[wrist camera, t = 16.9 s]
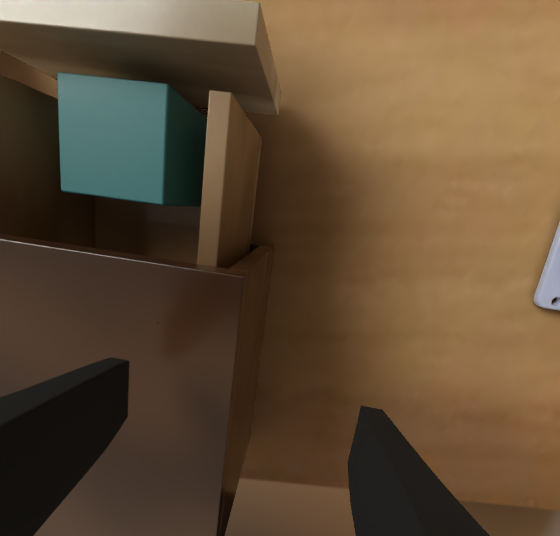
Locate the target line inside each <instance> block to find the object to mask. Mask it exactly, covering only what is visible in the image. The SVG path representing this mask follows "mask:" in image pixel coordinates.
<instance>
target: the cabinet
mask: <svg viewBox="0 0 560 536" xmlns="http://www.w3.org/2000/svg"><path fill="white" fill-rule="evenodd" d="M273 253H274V246H273V245H268V244H261V243H254V242H251V244H250V253H249V254H248V255H246V256H245V257H244V258H242V259H241V260H240V261H238V262H237V263H235V264H234V265H233V266H231V267H230V268H229V269H227V268H220V267H214V266H207V265H201V264H194V263H188V262H181V261H174V260H168V259H161V258H155V257H148V256H142V255H135V254H129V253H122V252H116V251H109V250H103V249H96V248H90V247H83V246H77V245H70V244H64V243H57V242H51V241H44V240H38V239H31V238H24V237H18V236H11V235H5V234H0V397H2V396H5V395H8V394H11V393H14V392H17V391H19V390H22V389H25V388H28V387H30V386H33V385H36V384H38V383H41V382H44V381H46V380H49V379H52V378H54V377H57V376H59V375H62V374H65V373H67V372H70V371H73V370H75V369H78V368H81V367H83V366H86V365H89V364H92V363H94V362H97V361H100V360H103V359H107V358H110V357H113V358H118V359H123V360H129V393H128V417H127V419H126V420H125V422H124V423H123V425H122V427H121V428H120V430H119V431H118V433H117V434H116V436H115V437H114V439H113V440H112V441H111V443H110V444H109V446H108V447H107V449H106V450H105V451H104V453H103V454H102V455H101V456H100V457H99V459H98V460H97V461H96V462H95V463H94V465H93V466H92V467H91V468H90V469H89V471H88V472H87V473H86V474H85V475H84V477H83V478H82V479H81V480H80V481H79V483H78V484H77V485H76V486H75V487H74V488H73V490H72V491H71V492H70V493H69V494H68V495H67V497H66V498H65V499H64V500H63V501H62V503H61V504H60V505H59V506H58V507H57V508H56V510H55V511H54V512H53V513H52V514H51V516H50V517H49V518H48V519H47V520H46V521H45V523H44V524H43V525H42V526H41V527H40V528H39V530H38V531H37V532H36V533H35V534H34V536H224V535H225V531H226V527H227V524H228V520H229V516H230V512H231V508H232V505H233V501H234V497H235V493H236V489H237V485H238V481H239V478H240V474H241V470H242V466H243V462H244V458H245V455H246V451H247V446H248V443H249V439H250V432H251V424H252V416H253V408H254V401H255V393H256V385H257V377H258V369H259V362H260V354H261V346H262V338H263V331H264V323H265V315H266V307H267V299H268V292H269V284H270V276H271V268H272V261H273Z"/></svg>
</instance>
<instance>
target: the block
mask: <svg viewBox="0 0 560 536" xmlns="http://www.w3.org/2000/svg"><path fill="white" fill-rule="evenodd" d="M57 85H58V114H59V144H60V173H61V190H62V191H63V192H68V193H75V194H83V195H90V196H97V197H104V198H111V199H119V200H126V201H133V202H140V203H147V204H155V205H162V206H196V207H201V202H202V188H203V174H204V159H205V145H206V131H207V118H206V117H205V116H203V115H202V114H201V113H200V112H199V111H198V110H197V109H196V108H194V107H193V106H192V105H191V104H190V103H189V102H188V101H187V100H185V99H184V98H183V97H182V96H181V95H180V94H179V93H178V92H176V91H175V90H174V89H173V88H172V87H171V86H170V85H169V84H165V83H156V82H147V81H137V80H128V79H119V78H109V77H100V76H90V75H81V74H72V73H62V72H58V73H57Z"/></svg>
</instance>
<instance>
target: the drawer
mask: <svg viewBox="0 0 560 536" xmlns="http://www.w3.org/2000/svg"><path fill="white" fill-rule="evenodd" d="M0 51H2V52H4V53H6V54H8V55H10V56H12V57H14V58H16V59H18V60H20V61H22V62H24V63H26V64H27V65H29V66H31V67H33V68H35V69H37V70H39V71H41V72H43V73H45V74H47V75H49V76H51V77H53V78H55V79H57V73H58V72H62V73H72V74H81V75H90V76H100V77H109V78H119V79H128V80H137V81H147V82H156V83H165V84H169V85H170V86H171V87H172V88H173V89H174V90H175V91H176V92H178V93H179V94H180V95H181V96H182V97H183V98H184V99H185V100H187V101H188V102H189V103H190V104H191V105H192V106H197V107H206V108H208V117H207V131H206V145H205V159H204V174H203V188H202V202H201V207H196V206H162V205H155V204H147V203H140V202H133V201H126V200H119V199H111V198H104V197H97V196H90V195H83V194H75V193H68V192H63V191H62V190H61V173H60V144H59V114H58V99H56V98H54V97H52V96H49V95H47V94H45V93H42V92H40V91H38V90H36V89H33V88H31V87H29V86H27V85H24V84H22V83H20V82H17V81H15V80H13V79H11V78H8V77H6V76H4V75H2V74H0V234H5V235H11V236H18V237H24V238H31V239H38V240H44V241H51V242H57V243H64V244H70V245H77V246H83V247H90V248H96V249H103V250H109V251H116V252H122V253H129V254H135V255H142V256H148V257H155V258H161V259H168V260H174V261H181V262H188V263H194V264H201V265H207V266H214V267H220V268H227V269H229V268H230V267H231V266H233V265H234V264H235V263H237V262H238V261H240V260H241V259H242V258H244V257H245V256H246V255H248V254H249V253H250V244H251V235H252V226H253V217H254V208H255V199H256V190H257V181H258V172H259V162H260V153H261V144H262V138H261V137H260V135H259V133H258V132H257V130H256V129H255V127H254V126H253V124H252V123H251V121H250V120H249V118H248V117H247V115H246V114H245V112H251V113H260V114H269V115H279V107H280V99H281V90H280V85H279V81H278V77H277V73H276V69H275V64H274V60H273V56H272V52H271V48H270V43H269V39H268V35H267V31H266V27H265V23H264V18H263V14H262V10H261V6H260V3H259V2H249V1H237V0H0Z"/></svg>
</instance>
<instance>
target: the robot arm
mask: <svg viewBox="0 0 560 536" xmlns="http://www.w3.org/2000/svg"><path fill="white" fill-rule="evenodd" d="M554 298H556V301H555V302H554V303H552V300H553V299H554ZM534 303H535V304H536V305H537V306H540V307H542V308H547V309H553V310H560V222H559V225H558V228H557V231H556V234H555V236H554V239H553V242H552V245H551V248H550V251H549V254H548V257H547V260H546V263H545V266H544V269H543V272H542V275H541V277H540V280H539V283H538V286H537V289H536V292H535V295H534ZM128 393H129V360H123V359H118V358H113V357H110V358H107V359H103V360H100V361H97V362H94V363H92V364H89V365H86V366H83V367H81V368H78V369H75V370H73V371H70V372H67V373H65V374H62V375H59V376H57V377H54V378H52V379H49V380H46V381H44V382H41V383H38V384H36V385H33V386H30V387H28V388H25V389H22V390H19V391H17V392H14V393H11V394H8V395H5V396H2V397H0V536H34V534H35V533H36V532H37V531H38V530H39V528H40V527H41V526H42V525H43V524H44V523H45V521H46V520H47V519H48V518H49V517H50V516H51V514H52V513H53V512H54V511H55V510H56V508H57V507H58V506H59V505H60V504H61V503H62V501H63V500H64V499H65V498H66V497H67V495H68V494H69V493H70V492H71V491H72V490H73V488H74V487H75V486H76V485H77V484H78V483H79V481H80V480H81V479H82V478H83V477H84V475H85V474H86V473H87V472H88V471H89V469H90V468H91V467H92V466H93V465H94V463H95V462H96V461H97V460H98V459H99V457H100V456H101V455H102V454H103V453H104V451H105V450H106V449H107V447H108V446H109V444H110V443H111V441H112V440H113V439H114V437H115V436H116V434H117V433H118V431H119V430H120V428H121V427H122V425H123V423H124V422H125V420H126V419H127V417H128ZM348 475H349V490H350V502H351V508H352V515H353V521H354V527H355V533H356V536H490V535H489V534H488V533H487V532H486V531H485V530H484V529H483V528H482V527H481V526H480V525H479V524H478V523H477V521H476V520H475V519H474V518H473V517H472V516H471V515H470V514H469V513H468V512H467V510H466V509H465V508H464V507H463V506H462V505H461V504H460V503H459V502H458V500H457V499H456V498H455V497H454V496H453V495H452V494H451V493H450V491H449V490H448V489H447V488H446V487H445V486H444V485H443V483H442V482H441V481H440V480H439V479H438V478H437V476H436V475H435V474H434V473H433V472H432V470H431V469H430V468H429V467H428V466H427V464H426V463H425V462H424V461H423V460H422V458H421V457H420V456H419V455H418V453H417V452H416V451H415V450H414V449H413V447H412V446H411V445H410V444H409V442H408V441H407V440H406V439H405V437H404V436H403V435H402V434H401V432H400V431H399V430H398V428H397V427H396V426H395V425H394V423H393V422H392V421H391V420H390V418H389V417H388V416H387V415H386V414H385V412H384V411H383V410H381V409H376V408H371V407H366V406H361V409H360V413H359V417H358V421H357V426H356V430H355V434H354V438H353V443H352V447H351V451H350V455H349V460H348Z"/></svg>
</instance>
